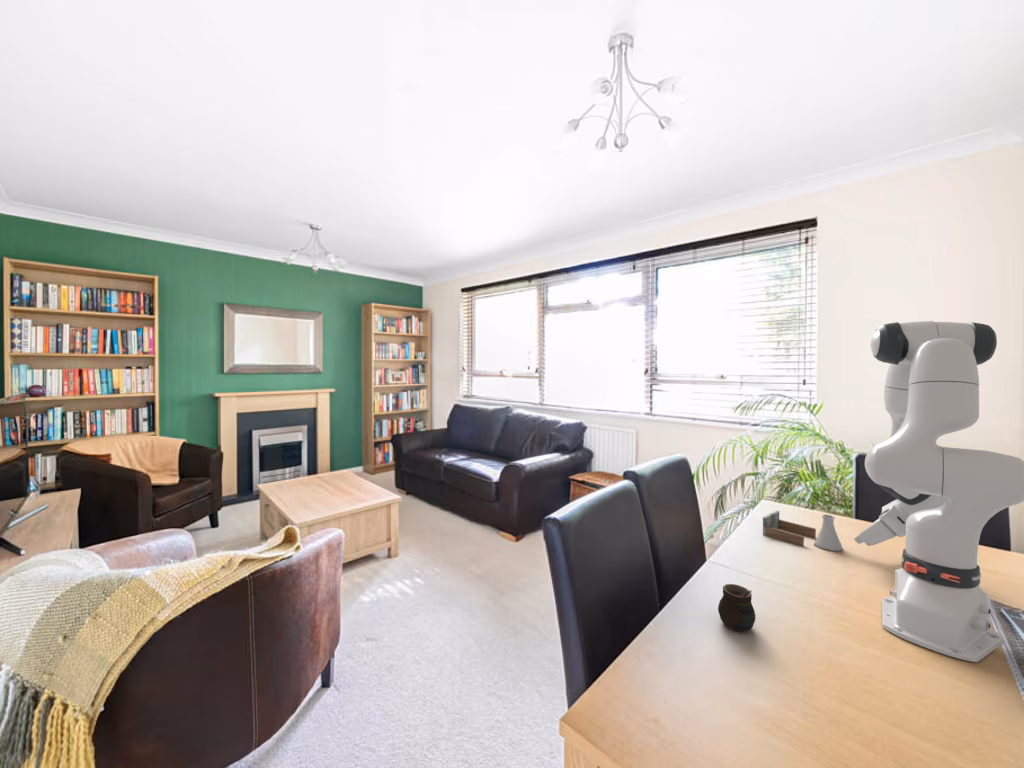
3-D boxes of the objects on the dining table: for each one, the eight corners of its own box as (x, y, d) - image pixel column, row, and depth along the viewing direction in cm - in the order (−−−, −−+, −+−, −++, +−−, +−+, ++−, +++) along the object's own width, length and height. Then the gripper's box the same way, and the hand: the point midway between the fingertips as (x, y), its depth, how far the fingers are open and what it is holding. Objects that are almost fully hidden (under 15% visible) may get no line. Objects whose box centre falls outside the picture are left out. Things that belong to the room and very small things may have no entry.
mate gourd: (733, 613, 94) (735, 570, 94) (764, 632, 87) (766, 586, 87) (710, 619, 92) (711, 575, 91) (740, 640, 85) (741, 593, 84)
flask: (808, 544, 132) (809, 514, 132) (822, 540, 135) (822, 510, 135) (834, 553, 126) (834, 521, 125) (847, 549, 129) (847, 517, 128)
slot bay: (802, 546, 131) (803, 527, 131) (762, 534, 140) (763, 517, 140) (815, 537, 138) (815, 519, 138) (776, 527, 147) (776, 510, 147)
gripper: (899, 501, 124) (858, 523, 132) (882, 515, 112) (837, 538, 120) (920, 519, 121) (876, 541, 129) (904, 536, 109) (856, 559, 117)
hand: (857, 540), depth 125 cm, fingers closed
